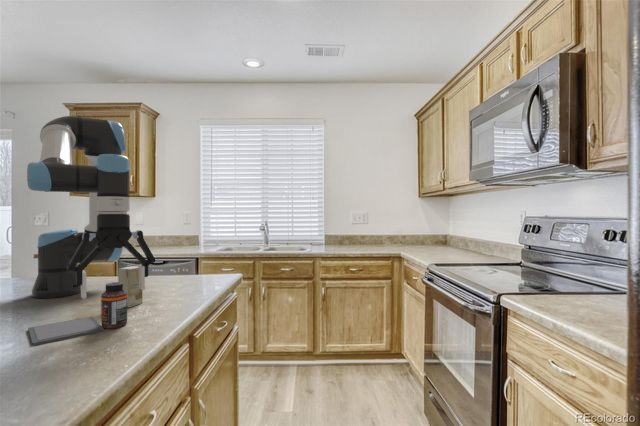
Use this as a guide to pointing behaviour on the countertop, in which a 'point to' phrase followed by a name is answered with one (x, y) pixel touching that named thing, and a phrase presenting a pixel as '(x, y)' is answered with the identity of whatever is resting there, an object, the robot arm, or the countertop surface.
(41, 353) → the countertop surface
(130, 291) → the skincare box
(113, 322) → the supplement bottle
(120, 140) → the robot arm
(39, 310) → the countertop surface
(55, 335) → the coaster
